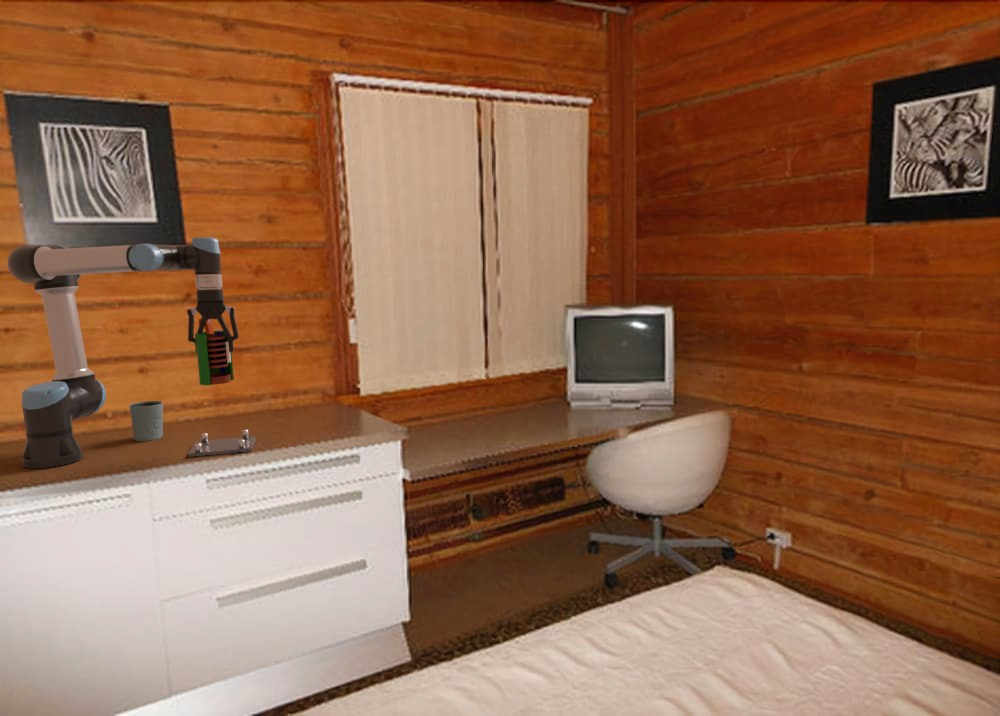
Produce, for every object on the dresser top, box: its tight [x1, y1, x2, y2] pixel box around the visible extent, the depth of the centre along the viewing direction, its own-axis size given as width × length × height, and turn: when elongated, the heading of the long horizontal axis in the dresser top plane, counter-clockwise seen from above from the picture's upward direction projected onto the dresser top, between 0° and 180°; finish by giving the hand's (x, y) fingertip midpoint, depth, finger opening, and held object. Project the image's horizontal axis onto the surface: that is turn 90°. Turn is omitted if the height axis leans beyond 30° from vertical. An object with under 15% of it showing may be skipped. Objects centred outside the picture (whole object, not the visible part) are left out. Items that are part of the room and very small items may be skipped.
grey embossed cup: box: [128, 400, 164, 442], centre depth 232 cm, size 10×10×12 cm
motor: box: [194, 318, 235, 386], centre depth 212 cm, size 10×9×20 cm
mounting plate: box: [187, 429, 256, 458], centre depth 216 cm, size 18×16×4 cm
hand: (215, 363), depth 213 cm, fingers closed on motor, 7 cm apart
